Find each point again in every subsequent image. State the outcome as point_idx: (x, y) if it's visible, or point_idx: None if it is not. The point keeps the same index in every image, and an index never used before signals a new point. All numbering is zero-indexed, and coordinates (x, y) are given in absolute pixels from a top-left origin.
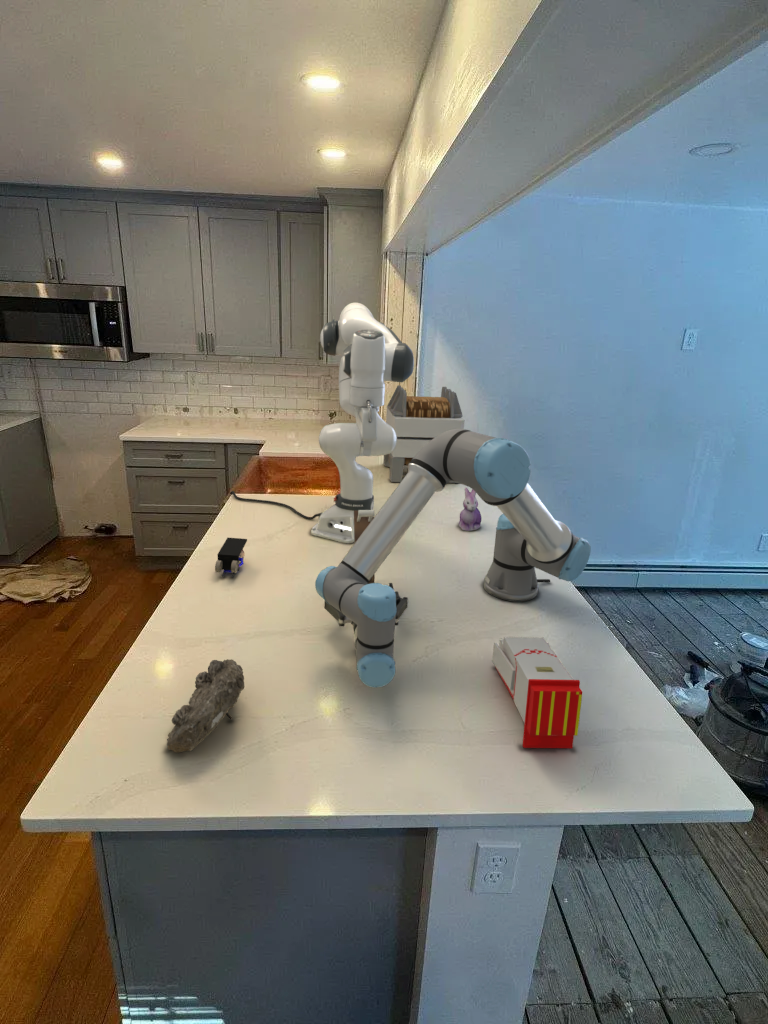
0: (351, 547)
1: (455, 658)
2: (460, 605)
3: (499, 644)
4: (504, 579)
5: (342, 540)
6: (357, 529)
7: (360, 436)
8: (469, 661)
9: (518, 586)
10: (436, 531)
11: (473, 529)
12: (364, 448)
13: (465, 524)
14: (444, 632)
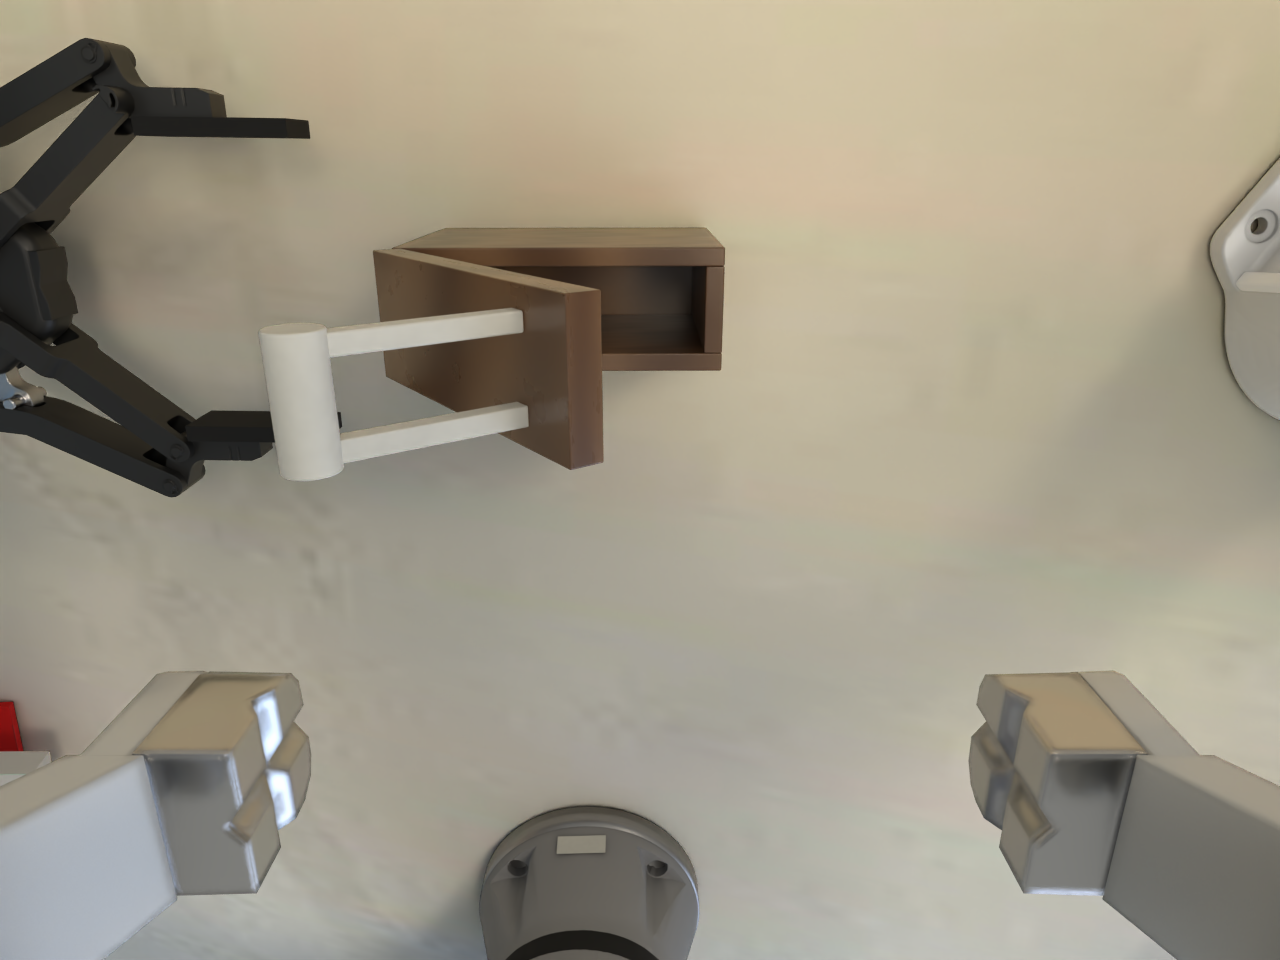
0: (718, 247)
1: (52, 588)
2: (451, 688)
3: (38, 758)
4: (512, 911)
5: (1245, 209)
6: (482, 300)
7: (1242, 815)
8: (42, 629)
9: (484, 936)
10: (1260, 746)
11: None
12: (40, 780)
13: None
14: (230, 586)
